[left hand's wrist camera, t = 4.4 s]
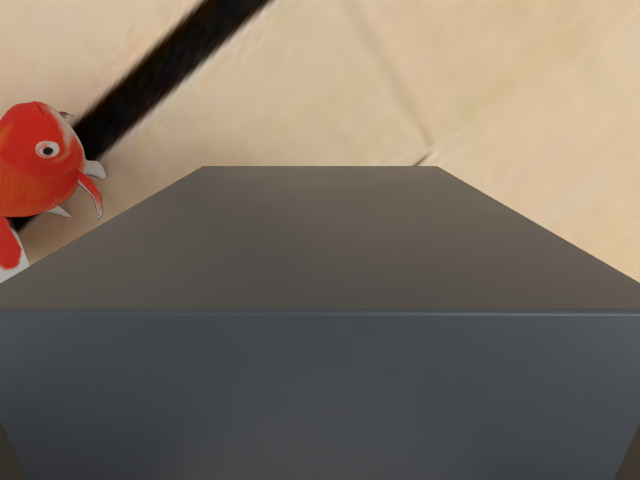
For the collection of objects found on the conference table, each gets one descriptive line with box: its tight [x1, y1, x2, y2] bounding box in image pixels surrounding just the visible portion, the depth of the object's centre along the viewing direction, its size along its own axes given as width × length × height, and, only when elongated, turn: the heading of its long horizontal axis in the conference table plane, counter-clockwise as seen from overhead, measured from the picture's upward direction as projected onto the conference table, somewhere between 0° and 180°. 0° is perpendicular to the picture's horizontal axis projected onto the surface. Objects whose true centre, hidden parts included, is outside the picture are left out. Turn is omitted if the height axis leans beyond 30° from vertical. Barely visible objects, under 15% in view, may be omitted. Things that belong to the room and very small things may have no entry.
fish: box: [0, 101, 106, 283], centre depth 22 cm, size 11×16×10 cm
